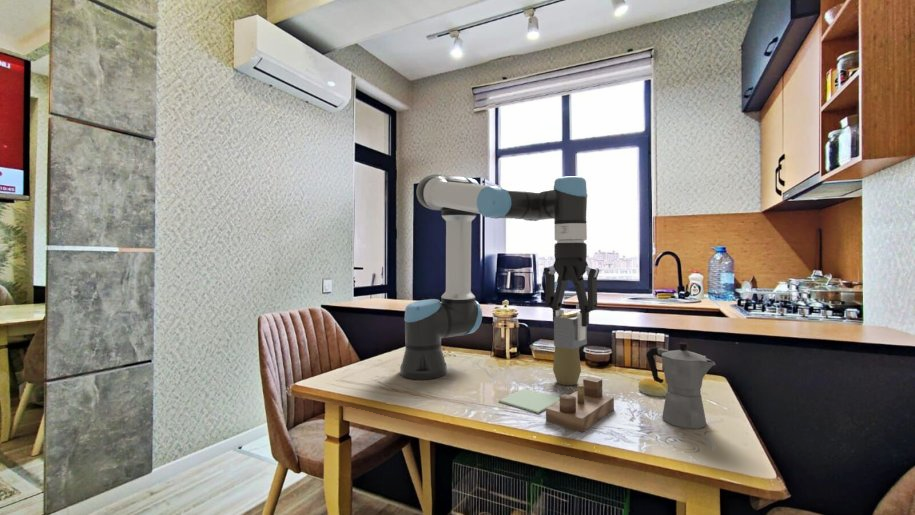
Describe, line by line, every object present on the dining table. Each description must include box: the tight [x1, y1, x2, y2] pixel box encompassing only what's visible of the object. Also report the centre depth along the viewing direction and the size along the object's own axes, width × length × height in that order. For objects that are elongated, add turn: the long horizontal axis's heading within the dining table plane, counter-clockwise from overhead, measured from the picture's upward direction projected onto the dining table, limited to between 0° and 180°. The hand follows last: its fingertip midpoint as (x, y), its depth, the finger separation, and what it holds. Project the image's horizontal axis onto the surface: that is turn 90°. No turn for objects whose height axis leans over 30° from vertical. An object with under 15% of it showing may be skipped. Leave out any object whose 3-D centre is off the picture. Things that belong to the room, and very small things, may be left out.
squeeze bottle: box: [552, 346, 582, 386], centre depth 121 cm, size 8×8×18 cm
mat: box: [498, 387, 560, 414], centre depth 107 cm, size 12×12×1 cm
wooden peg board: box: [545, 376, 615, 433], centre depth 97 cm, size 17×9×7 cm, turn 137°
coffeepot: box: [646, 341, 716, 430], centre depth 94 cm, size 15×9×18 cm, turn 35°
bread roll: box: [638, 376, 667, 397], centre depth 113 cm, size 8×9×4 cm
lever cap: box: [553, 310, 588, 349], centre depth 99 cm, size 5×7×8 cm
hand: (570, 337), depth 99 cm, fingers closed on lever cap, 5 cm apart
